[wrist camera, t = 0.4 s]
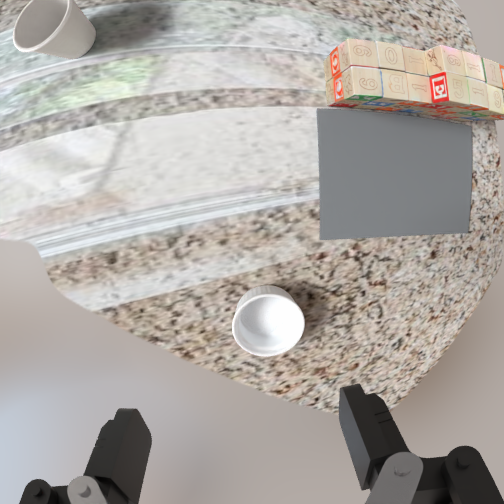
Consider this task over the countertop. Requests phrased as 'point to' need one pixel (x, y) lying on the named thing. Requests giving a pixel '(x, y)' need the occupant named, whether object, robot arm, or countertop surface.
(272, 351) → the ramekin
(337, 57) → the stack of blocks
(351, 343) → the countertop surface
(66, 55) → the dixie cup
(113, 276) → the countertop surface
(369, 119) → the mat
